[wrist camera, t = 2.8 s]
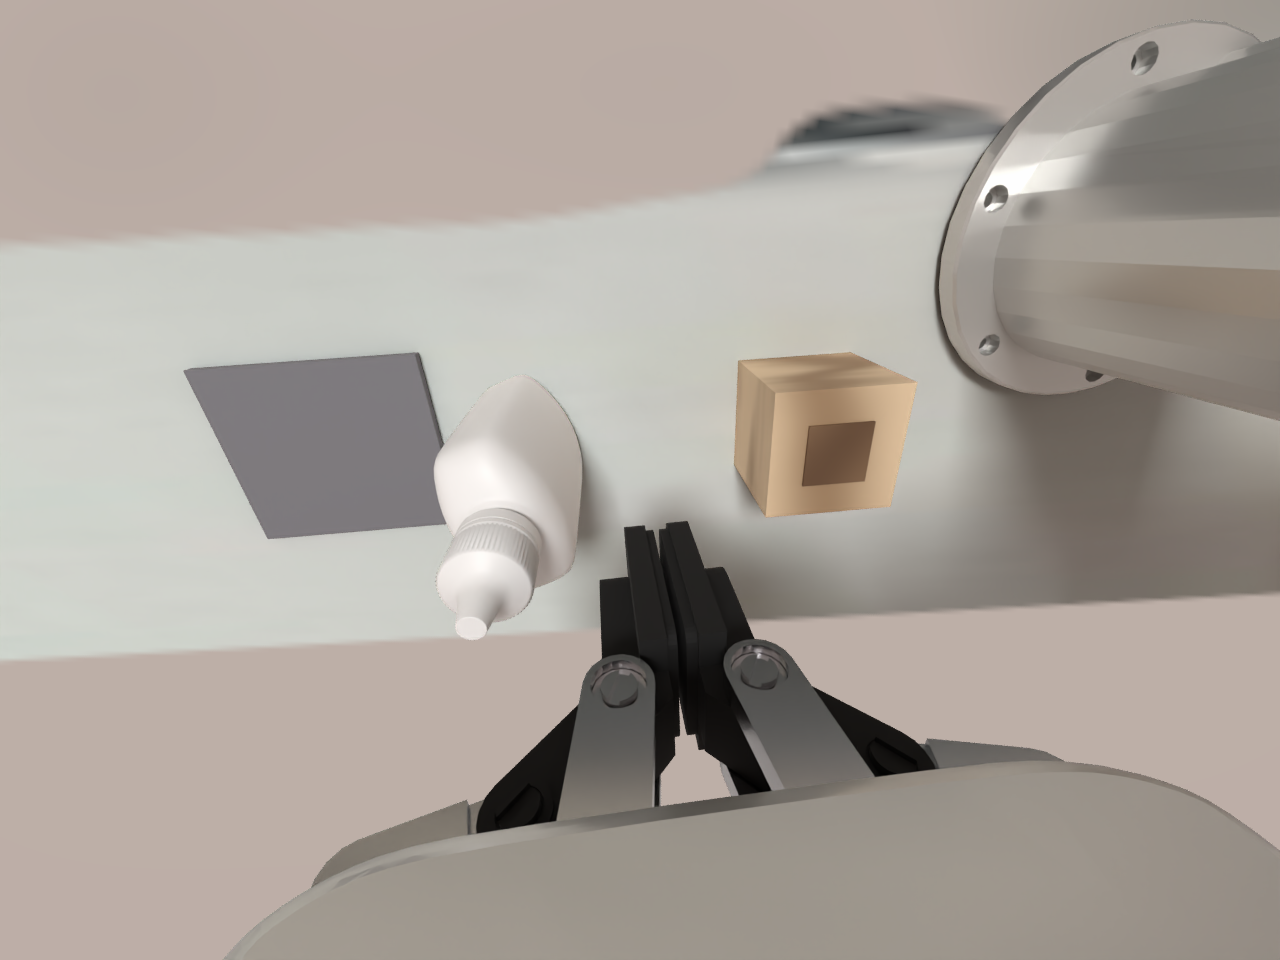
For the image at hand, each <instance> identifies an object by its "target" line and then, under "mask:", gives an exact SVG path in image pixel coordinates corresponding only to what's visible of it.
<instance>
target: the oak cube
mask: <svg viewBox="0 0 1280 960" xmlns="http://www.w3.org/2000/svg"><path fill="white" fill-rule="evenodd" d="M916 387H917V382H916V381H913V380H911V379H909V378H907V377H904V376H902V375H900V374H898V373H895V372H893V371H891V370H889V369H886V368H884V367H882V366H880V365H878V364H875V363H873V362H871V361H869V360H866V359H864V358H862V357H860V356H857V355H855V354H853V353H851V352H849V353H836V354H822V355H808V356H795V357H781V358H767V359H754V360H740V361H738V380H737V405H736V429H735V454H734V465H735V467H736V468H737V470H738V472H739V473H740V475H741V477H742V478H743V480H744V482H745V483H746V485H747V487H748V488H749V490H750V492H751V494H752V495H753V497H754V499H755V500H756V502H757V504H758V505H759V507H760V509H761V510H762V512H763V514H764V515H765V517H777V516H788V515H800V514H811V513H823V512H834V511H846V510H857V509H869V508H880V507H890V506H891V501H892V496H893V492H894V487H895V483H896V478H897V474H898V469H899V464H900V460H901V455H902V451H903V446H904V442H905V437H906V433H907V428H908V423H909V419H910V414H911V410H912V405H913V401H914V396H915V391H916Z"/></svg>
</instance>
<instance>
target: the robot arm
mask: <svg viewBox="0 0 1280 960" xmlns="http://www.w3.org/2000/svg"><path fill="white" fill-rule="evenodd" d="M939 294H940V304H941V314H942V318H943V321H944V324H945V328H946V331H947V334H948V337H949V340H950V341H951V343H952V345H953V346H954V348H955V349H956V351H957V353H958V354H959V356H960V357H961V359H962V360H963V361H964V362H965V363H966V364H967V365H968V366H969V367H971V368H972V369H973V370H974V371H975V372H976V373H977V374H978V375H980V376H982V377H984V378H986V379H988V380H990V381H992V382H994V383H996V384H998V385H1001V386H1004V387H1007V388H1010V389H1013V390H1016V391H1019V392H1022V393H1031V394H1039V395H1054V394H1066V393H1073V392H1077V391H1082V390H1086V389H1090V388H1093V387H1097V386H1099V385H1102V384H1104V383H1106V382H1109V381H1111V380H1113V379H1116V378H1120V379H1124V380H1128V381H1131V382H1135V383H1139V384H1143V385H1146V386H1150V387H1154V388H1158V389H1162V390H1165V391H1169V392H1173V393H1177V394H1180V395H1184V396H1188V397H1192V398H1195V399H1199V400H1203V401H1207V402H1210V403H1214V404H1218V405H1222V406H1226V407H1229V408H1233V409H1237V410H1241V411H1244V412H1248V413H1252V414H1256V415H1259V416H1263V417H1267V418H1271V419H1274V420H1278V421H1280V37H1279V38H1276V39H1272V40H1269V41H1265V42H1261V41H1260V40H1259V39H1257V38H1256V37H1255V36H1254V35H1253V34H1251V33H1249V32H1247V31H1244V30H1242V29H1240V28H1237V27H1235V26H1233V25H1230V24H1228V23H1225V22H1215V21H1203V20H1187V21H1181V22H1176V23H1170V24H1164V25H1159V26H1155V27H1152V28H1149V29H1147V30H1144V31H1141V32H1138V33H1136V34H1133V35H1130V36H1128V37H1125V38H1122V39H1120V40H1117V41H1114V42H1112V43H1110V44H1108V45H1106V46H1104V47H1102V48H1100V49H1099V50H1097V51H1095V52H1093V53H1091V54H1089V55H1087V56H1085V57H1083V58H1081V59H1079V60H1077V61H1076V62H1075V63H1073V64H1072V65H1071V66H1069V67H1068V68H1066V69H1065V70H1064V71H1063V72H1061V73H1060V74H1058V75H1057V76H1056V77H1054V78H1053V79H1052V80H1050V81H1049V82H1048V83H1046V84H1045V85H1044V86H1043V87H1041V89H1039V90H1038V91H1037V92H1036V93H1035V94H1034V95H1033V96H1032V97H1031V98H1030V99H1029V100H1028V101H1027V102H1026V103H1025V104H1024V105H1023V106H1022V107H1021V108H1020V109H1019V110H1018V111H1017V112H1016V113H1015V114H1014V115H1013V116H1012V117H1011V119H1010V120H1009V121H1008V122H1007V124H1006V125H1005V126H1004V128H1003V129H1002V130H1001V132H1000V133H999V134H998V135H997V137H996V138H995V139H994V141H993V142H992V143H991V144H990V146H989V147H988V148H987V150H986V151H985V153H984V154H983V156H982V158H981V160H980V161H979V163H978V165H977V167H976V168H975V170H974V172H973V173H972V175H971V177H970V179H969V180H968V182H967V184H966V185H965V187H964V190H963V192H962V195H961V197H960V200H959V202H958V204H957V207H956V209H955V212H954V214H953V216H952V219H951V221H950V225H949V229H948V233H947V237H946V241H945V245H944V249H943V253H942V257H941V269H940V280H939ZM624 533H625V545H626V557H627V569H628V577H623V578H614V579H604V580H600V611H601V641H602V659H601V660H600V661H598V662H597V663H596V664H594V665H593V666H592V667H591V668H590V670H589V671H588V672H587V673H586V676H585V678H584V681H583V684H582V689H581V695H580V700H579V704H578V705H577V706H576V707H575V708H574V709H573V710H572V711H571V712H570V713H569V714H568V715H567V716H566V717H565V718H564V719H563V720H562V721H561V722H560V723H559V724H558V725H557V726H556V727H555V728H554V729H553V730H552V731H551V732H550V733H549V734H548V735H547V736H546V737H545V738H544V739H542V740H541V741H540V742H539V743H538V745H536V747H534V748H533V749H532V750H531V751H530V752H529V753H528V754H527V755H526V756H525V757H524V758H523V759H522V760H521V761H520V762H519V763H518V764H517V765H516V766H515V767H514V768H513V769H512V770H511V771H510V772H509V773H508V774H506V775H505V777H503V778H502V779H501V780H500V781H499V782H498V783H497V784H496V785H495V786H494V788H493V789H492V790H491V791H490V792H489V794H488V795H487V796H486V798H485V799H484V800H482V801H479V802H476V803H474V804H471V805H469V804H468V802H467V800H465V801H462V802H459V803H457V804H454V805H452V806H449V807H446V808H443V809H440V810H438V811H435V812H432V813H430V814H427V815H424V816H421V817H419V818H416V819H414V820H411V821H408V822H405V823H403V824H400V825H397V826H394V827H392V828H389V829H386V830H383V831H381V832H378V833H375V834H373V835H370V836H367V837H365V838H362V839H359V840H357V841H355V842H353V843H352V844H349V845H348V846H346V847H344V848H342V849H341V850H340V851H339V852H338V853H336V854H335V855H334V856H333V857H332V858H331V859H330V860H329V861H328V862H326V864H325V865H324V867H323V868H322V870H321V871H320V872H319V874H318V875H317V877H316V878H315V879H314V882H313V884H312V887H311V888H310V889H309V890H307V891H305V892H303V893H302V894H300V895H298V896H297V897H295V898H294V899H292V900H291V901H289V902H288V903H286V904H285V905H283V906H282V907H280V908H279V909H277V910H276V911H275V912H274V913H272V914H271V915H269V916H268V917H267V918H265V919H264V920H262V921H261V922H260V923H259V924H258V925H256V926H255V927H254V928H253V929H252V930H251V931H250V932H248V933H247V934H246V935H245V936H244V937H243V938H242V939H241V940H240V941H239V942H238V943H237V944H236V945H235V946H234V948H233V949H232V950H231V951H230V952H229V953H228V955H227V956H226V957H225V958H224V959H223V960H1280V850H1278V849H1277V848H1276V847H1275V846H1273V845H1272V844H1271V843H1269V842H1268V841H1267V840H1266V839H1264V838H1263V837H1262V836H1260V835H1259V834H1258V833H1256V832H1255V831H1253V830H1252V829H1251V828H1249V827H1248V826H1247V825H1245V824H1244V823H1242V822H1241V821H1240V820H1238V819H1237V818H1235V817H1234V816H1232V815H1231V814H1230V813H1228V812H1226V811H1225V810H1223V809H1221V808H1220V807H1218V806H1217V805H1215V804H1213V803H1212V802H1210V801H1208V800H1207V799H1204V798H1202V797H1200V796H1198V795H1196V794H1194V793H1192V792H1190V791H1188V790H1186V789H1183V788H1181V787H1178V786H1175V785H1172V784H1169V783H1167V782H1164V781H1161V780H1157V779H1154V778H1151V777H1147V776H1144V775H1141V774H1137V773H1132V772H1128V771H1123V770H1119V769H1114V768H1110V767H1105V766H1099V765H1092V764H1083V763H1074V762H1065V761H1063V760H1061V759H1059V758H1057V757H1055V756H1053V755H1051V754H1049V753H1047V752H1044V751H1040V750H1036V749H1031V748H1023V747H1012V746H1002V745H991V744H980V743H970V742H959V741H948V740H937V739H927V740H926V743H925V744H918V743H917V742H916V741H915V740H913V739H911V738H910V737H908V736H907V735H905V734H904V733H902V732H900V731H898V730H896V729H895V728H893V727H891V726H889V725H887V724H885V723H882V722H881V721H879V720H877V719H875V718H873V717H871V716H869V715H867V714H865V713H863V712H861V711H859V710H857V709H856V708H854V707H852V706H850V705H847V704H846V703H844V702H841V701H840V700H838V699H836V698H834V697H832V696H830V695H828V694H826V693H824V692H822V691H820V690H818V689H817V688H814V687H813V686H811V684H810V683H809V681H808V680H807V678H806V677H805V676H804V674H803V673H802V671H801V670H800V668H799V667H798V666H797V664H796V663H795V661H794V660H793V658H792V657H791V656H790V655H789V654H788V653H787V652H786V651H785V650H784V649H782V648H781V647H779V646H778V645H776V644H774V643H771V642H768V641H766V640H759V639H754V637H753V634H752V633H751V630H750V627H749V625H748V622H747V620H746V618H745V615H744V613H743V611H742V608H741V606H740V603H739V601H738V599H737V596H736V594H735V592H734V589H733V587H732V585H731V582H730V580H729V577H728V575H727V573H726V571H725V569H724V568H723V567H717V568H708V569H705V568H704V566H703V563H702V560H701V557H700V555H699V552H698V549H697V546H696V543H695V541H694V538H693V535H692V532H691V530H690V527H689V524H688V522H687V521H684V522H674V523H667V524H666V529H659V544H660V558H659V553H658V549H657V545H656V540H655V536H654V532H653V530H648V531H646V530H645V526H633V527H624ZM679 699H680V704H681V709H682V714H683V719H684V724H685V729H686V733H687V735H692V734H695V735H696V739H697V744H698V749H699V750H703V749H705V751H706V752H707V753H709V754H710V755H712V756H713V757H714V758H716V759H717V760H719V761H720V767H721V771H722V774H723V777H724V780H725V782H726V784H727V787H728V790H729V792H730V794H731V797H725V798H717V799H710V800H703V801H695V802H688V803H682V804H674V805H667V806H661V773H662V772H663V771H664V769H665V768H666V766H667V765H668V764H669V763H670V761H671V760H672V759H673V757H674V756H675V737H677V736H680V716H679Z"/></svg>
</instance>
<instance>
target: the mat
mask: <svg viewBox="0 0 1280 960" xmlns="http://www.w3.org/2000/svg"><path fill="white" fill-rule="evenodd" d="M184 373H185V375H186V377H187V379H188V381H189V383H190V385H191V387H192V389H193V391H194V393H195V395H196V397H197V399H198V401H199V403H200V405H201V407H202V409H203V411H204V413H205V415H206V417H207V419H208V421H209V423H210V425H211V427H212V429H213V431H214V433H215V435H216V437H217V439H218V441H219V443H220V445H221V447H222V449H223V451H224V453H225V455H226V457H227V459H228V461H229V463H230V465H231V467H232V469H233V471H234V473H235V475H236V477H237V479H238V481H239V483H240V485H241V487H242V489H243V491H244V493H245V495H246V497H247V499H248V501H249V503H250V505H251V507H252V509H253V511H254V513H255V515H256V516H257V518H258V520H259V522H260V524H261V526H262V528H263V530H264V532H265V534H266V536H267V538H268V539H274V538H286V537H298V536H310V535H322V534H333V533H345V532H357V531H369V530H380V529H392V528H404V527H416V526H428V525H439V524H447V523H446V521H445V519H444V516H443V513H442V510H441V507H440V504H439V501H438V496H437V492H436V487H435V481H434V464H435V460H436V457H437V455H438V453H439V451H440V450H441V449H442V447H443V443H442V439H441V436H440V432H439V428H438V425H437V421H436V417H435V413H434V410H433V406H432V402H431V398H430V395H429V391H428V387H427V383H426V380H425V376H424V372H423V368H422V365H421V361H420V357H419V353H405V354H391V355H377V356H362V357H348V358H334V359H319V360H305V361H291V362H276V363H262V364H247V365H233V366H219V367H204V368H191V369H188V370H185V371H184Z"/></svg>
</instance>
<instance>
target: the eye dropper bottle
mask: <svg viewBox="0 0 1280 960" xmlns="http://www.w3.org/2000/svg"><path fill="white" fill-rule="evenodd" d="M434 481H435V487H436V492H437V496H438V501H439V504H440V507H441V510H442V513H443V516H444V519H445V521H446V523H447V526H448V528H449V530H450V532H451V534H452V535H453V537H454V538H453V540H452V542H451V544H450V546H449V548H448V550H447V552H446V554H445V556H444V558H443V560H442V562H441V564H440V566H439V568H438V571H437V575H436V581H435V582H436V587H437V591H438V594H439V596H440V598H441V599H442V601H443V602H444V603H445V605H446V606H447V607H448V608H449V609H450V610H452V611H453V612H454V613H456V614H457V615H456V624H455V630H456V632H457V634H458V635H459V636H461V637H462V638H464V639H468V640H477V639H480V638H482V637H483V636H484V635H485V634H486V633H487V631H488V629H489V627H490V626H491V624H492V622H500V621H504V620H507V619H510V618H512V617H515V615H518V614H519V613H520V612H522V610H524V609H525V607H527V606H528V603H530V600H531V599H532V596H533V592H534V588H536V587H540V586H542V585H545V584H547V583H550V582H552V581H555V580H557V579H559V578H561V577H562V576H564V575H565V574H566V573H567V572H569V570H570V569H571V567H572V565H573V562H574V558H575V553H576V544H577V535H578V523H579V512H580V499H581V487H582V458H581V452H580V447H579V443H578V440H577V437H576V434H575V432H574V429H573V427H572V425H571V423H570V421H569V419H568V417H567V415H566V414H565V412H564V411H563V409H562V408H561V406H560V405H559V404H558V402H557V401H556V400H555V399H554V398H553V397H552V396H551V394H550V393H549V392H548V391H547V390H546V389H545V388H544V387H542V386H541V385H540V384H539V383H538V382H537V381H535V380H534V379H533V378H531V377H529V376H526V375H516V376H513V377H511V378H509V379H506V380H504V381H502V382H500V383H498V384H495V385H493V386H491V387H489V388H488V389H487V390H486V391H485V392H484V393H483V394H482V395H481V396H480V398H479V399H478V400H477V402H476V403H475V404H474V405H473V407H472V408H471V409H470V411H469V412H468V413H467V415H466V416H465V417H464V418H463V420H462V421H461V422H460V424H459V425H458V426H457V428H456V429H455V430H454V432H453V433H452V434H451V436H450V437H449V438H448V440H447V441H446V443H445V444H444V446H443V447H442V449H441V450H440V451H439V453H438V455H437V457H436V460H435V464H434Z"/></svg>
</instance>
